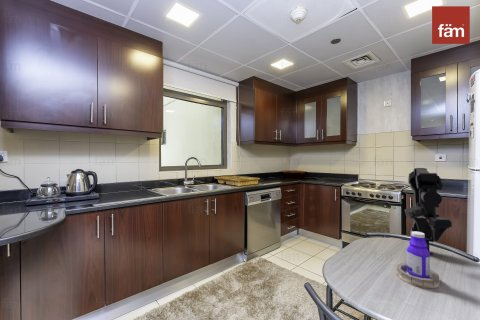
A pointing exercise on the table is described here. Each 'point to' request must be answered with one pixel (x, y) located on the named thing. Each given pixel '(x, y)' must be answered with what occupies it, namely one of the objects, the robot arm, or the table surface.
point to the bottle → (418, 256)
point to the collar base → (416, 281)
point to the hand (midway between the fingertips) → (428, 236)
